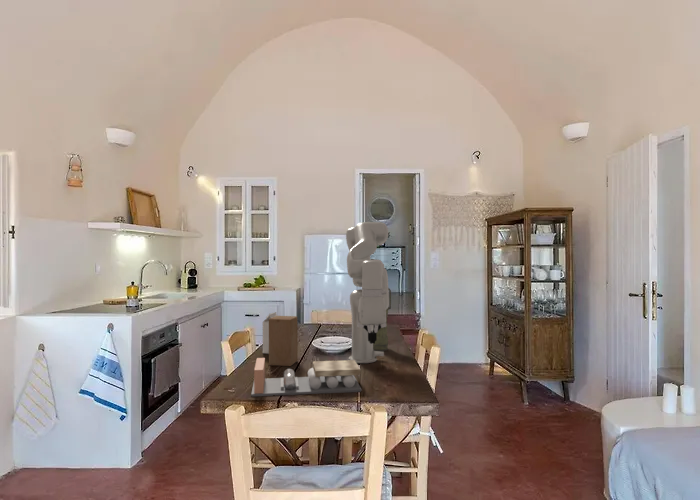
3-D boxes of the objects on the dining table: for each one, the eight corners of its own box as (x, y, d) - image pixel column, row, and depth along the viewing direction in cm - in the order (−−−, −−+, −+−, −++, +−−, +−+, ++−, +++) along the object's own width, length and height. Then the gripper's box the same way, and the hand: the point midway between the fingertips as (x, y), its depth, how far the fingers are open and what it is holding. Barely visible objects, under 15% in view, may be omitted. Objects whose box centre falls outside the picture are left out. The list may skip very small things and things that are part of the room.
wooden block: (290, 366, 204) (290, 319, 203) (268, 365, 206) (268, 318, 205) (297, 361, 213) (297, 316, 213) (276, 360, 215) (276, 315, 215)
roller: (294, 379, 181) (294, 368, 181) (295, 390, 168) (295, 378, 168) (283, 379, 181) (283, 368, 181) (283, 390, 167) (284, 378, 167)
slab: (354, 365, 185) (354, 360, 185) (360, 374, 171) (360, 369, 171) (312, 366, 182) (312, 361, 182) (315, 376, 168) (315, 371, 168)
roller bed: (353, 377, 187) (353, 354, 187) (361, 391, 168) (361, 366, 168) (254, 381, 182) (254, 357, 182) (251, 396, 163) (251, 370, 163)
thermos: (367, 347, 243) (367, 277, 242) (390, 347, 242) (390, 278, 242) (366, 350, 234) (366, 279, 234) (391, 351, 233) (390, 279, 233)
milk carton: (282, 351, 233) (282, 312, 233) (275, 354, 226) (275, 314, 226) (269, 350, 235) (269, 311, 235) (262, 353, 228) (262, 313, 228)
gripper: (389, 292, 183) (389, 340, 183) (350, 293, 181) (350, 341, 181) (394, 294, 175) (394, 344, 176) (353, 295, 173) (353, 345, 174)
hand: (372, 342), depth 178 cm, fingers closed
